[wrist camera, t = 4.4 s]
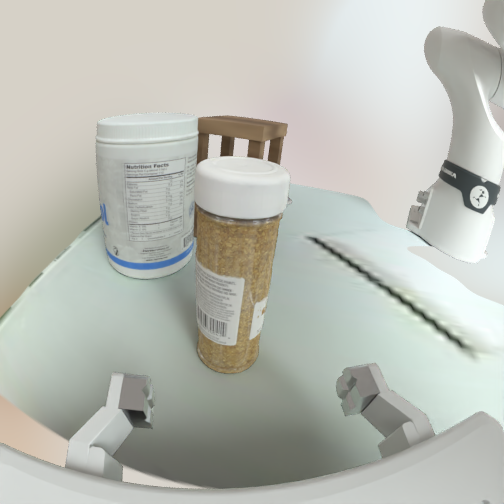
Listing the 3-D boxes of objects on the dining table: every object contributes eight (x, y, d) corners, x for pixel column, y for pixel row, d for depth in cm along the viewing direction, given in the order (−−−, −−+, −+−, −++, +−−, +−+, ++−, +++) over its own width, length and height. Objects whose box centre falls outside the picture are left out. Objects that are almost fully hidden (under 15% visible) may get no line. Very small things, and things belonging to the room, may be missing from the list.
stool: (219, 213, 40) (227, 115, 33) (272, 227, 38) (287, 123, 31) (188, 235, 34) (192, 118, 26) (248, 254, 31) (263, 126, 24)
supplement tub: (103, 244, 30) (93, 118, 22) (176, 229, 35) (179, 111, 27) (117, 294, 23) (97, 125, 16) (209, 270, 28) (218, 118, 21)
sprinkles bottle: (270, 359, 19) (312, 175, 13) (216, 385, 17) (227, 182, 10) (236, 321, 23) (254, 152, 16) (185, 340, 20) (180, 156, 13)
